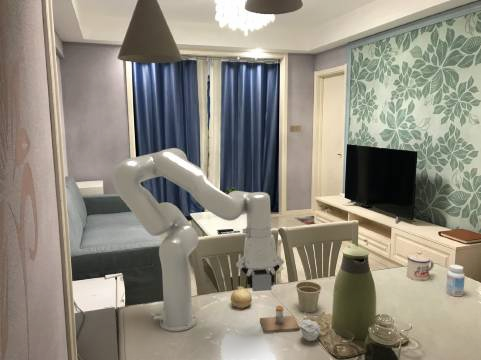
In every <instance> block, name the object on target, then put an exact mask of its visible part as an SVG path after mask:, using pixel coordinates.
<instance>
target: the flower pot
mask: <svg viewBox="0 0 481 360" xmlns="http://www.w3.org/2000/svg"><path fill="white" fill-rule="evenodd" d="M295 289H296V292H297V298H298V306H299V310H301V311H302V312H304V313H314V312H316V311H317V309H318V302H319V297H320V294H321V291H322V286H321V284H320V283H317V282H314V281H310V280H309V281H307V280H306V281H300V282H297V283H296V284H295Z"/></svg>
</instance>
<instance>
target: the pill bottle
mask: <svg viewBox="0 0 481 360" xmlns="http://www.w3.org/2000/svg"><path fill="white" fill-rule="evenodd" d="M465 276H466V275H465V273H464V266H462V265H459V264H450V265H449V270H448V272H447V273H446V288H445V291H446V293H447V294H448V295H449V296H453V297H462V296H463V295H464V290H465Z"/></svg>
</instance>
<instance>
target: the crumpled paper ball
mask: <svg viewBox="0 0 481 360" xmlns="http://www.w3.org/2000/svg"><path fill="white" fill-rule="evenodd" d="M299 327H300V332H301V334H302V336H303V337H302V338H304V339H305V340H306V341H308V342H314V341H316V340H317V339H318V336H319V335H320V332H321V328H320V325H319V323H317V322H316V321H313V320H311V319H310V318H308V319H303V320H302V322H301V324H299Z"/></svg>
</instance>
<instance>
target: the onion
mask: <svg viewBox="0 0 481 360" xmlns="http://www.w3.org/2000/svg"><path fill="white" fill-rule="evenodd" d="M252 298H253V297H252V294H251V292H250V291H249V290H248V289H246V288H245V287H244V286H240V285H239V286H236V289H234V291H233V292H232V293H231V295H230V302H231V304H232V305H233V306H234V307H236V308H237V309H244V308H245V309H246V308H248V307H249V306H250V305H251V304H252V301H253V299H252Z"/></svg>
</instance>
